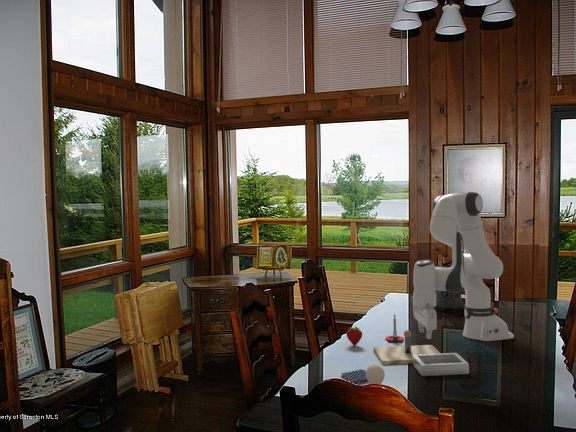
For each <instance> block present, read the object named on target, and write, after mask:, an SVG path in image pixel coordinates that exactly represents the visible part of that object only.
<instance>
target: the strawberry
mask: <svg viewBox="0 0 576 432" xmlns="http://www.w3.org/2000/svg"><path fill="white" fill-rule="evenodd" d="M345 334H346V337H347V339H348V341H349V342H350V343H351V344H352V345H353V346H356V345H357V344H358V343H359V342H360V341H361V339H362V337H363V332H362V330H361V328H359V327H358V326H354V327H349V328H348V329H347V330H346V333H345Z"/></svg>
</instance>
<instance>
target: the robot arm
mask: <svg viewBox="0 0 576 432" xmlns="http://www.w3.org/2000/svg"><path fill="white" fill-rule="evenodd" d="M483 204H484V203H483V198H482V196H481V195H480V194H479V193H478V192H474V191H468V192H455V193H449V194H442V195H438V196H436V198H435V199H434V200H433V202H432V209H433V210H432V214H431V217H430V222H429V233H430V234H431V236H432V237H433V238H434V239H435V240H436V241H437V242H439V243H442V244H444V245H446V246H448V247H450V248H451V251H452V252H451V254H452V255H451V258H452V260H451V261H452V263H451V265H450V266H451V267H449V268H446V267H445V266H435V263H434V261H433V260H430V259H422V260H421V259H420V260H417V261H416V262H415V263H414V267H413V274H412V276H413V278H412V280H413V281H412V284H413V288H414V289H413V291H412V292H413V294H412V295H413V296H411V300H410V301H411V302H412V313H413V317H414V319H415V320H416V321H417V325H418V331H419V333H425V330H426V333H425V339H427V340H431V339H432V336H433V335H432V333H433V331H434V330H437V328H438V320H437V312H436V311H437V310H436V309H435V306H436V294H437V290H439V291H447V292H452V293H458V292H459V291H461V290H462V289H463V288H465V289H464V294H465V295H464V296H465V304H464V319H465V320H464V321H465V322H464V326H463V331H462V332H463V333H462V336H463V337H465V338H467V339H471V340H477V341H483V342H493V341H494V342H495V341H502V340H510V339H514V337H515V336H514V333H512V332H511V331H509V328H508V323H506V322H505V321H504V320H503V319H502V318H500V317H499V316H498V315H496V314H498V313H499V309H498V308H497V307H493V306H492V305H491V290H490V288H489V287H488V286H487V285H486V284H485V283H484V280H493V279H495V280H496V279H498V278H500V277H501V276H502V274H503V272H504V264H503V261H502V260H501V259H500V258H499V257H498V256H496V255H495V253H494V252H493V250H492V249H491V248H490V245H489V243H488V242H487V239H486V235H485V231H484V226H483V221H482V218H481V214H480V213H481V212H482V210H483V208H484V207H483V206H484V205H483ZM464 249H466V251H467V252H465V250H464Z"/></svg>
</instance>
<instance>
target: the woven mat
mask: <svg viewBox="0 0 576 432" xmlns="http://www.w3.org/2000/svg"><path fill="white" fill-rule="evenodd" d="M340 374H341V375H340V377H341V378H343V379H344V380H346V379H347V380H346V382H349V381H350V382H349V383H351V382H352V383H354V384H358V385H363V384H366V382H367V383H369V382H368V380H367V378H366V370H365V369H361V368H359V370H357V369H355V370H352V371H350V370H349V371H347V372H346V371H345V372H341V373H340ZM352 383H351V384H352ZM362 383H363V384H362ZM354 384H353V385H354Z"/></svg>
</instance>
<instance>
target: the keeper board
mask: <svg viewBox="0 0 576 432" xmlns="http://www.w3.org/2000/svg"><path fill="white" fill-rule="evenodd" d="M403 336H404V345H401V346H399V345H398V346H395V345H394V346H377V347H376V346H375V347H373V352H374V354H375V356H376V357H377V359H378V358H379V359H378V360H379V362H380V361H381V362H380V363H381V365H384V366H385V365H398V364H399V365H402V364H404V363H406V364H413V359H412V355H418V354H440V353H441V352H440V351H439V350H438V349H437V348H436V347H435V346H434V345H432V344H422V345H421V344H420V345H419V344H417V345H412V332H411V330H409V329H406V330H404V332H403Z"/></svg>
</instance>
